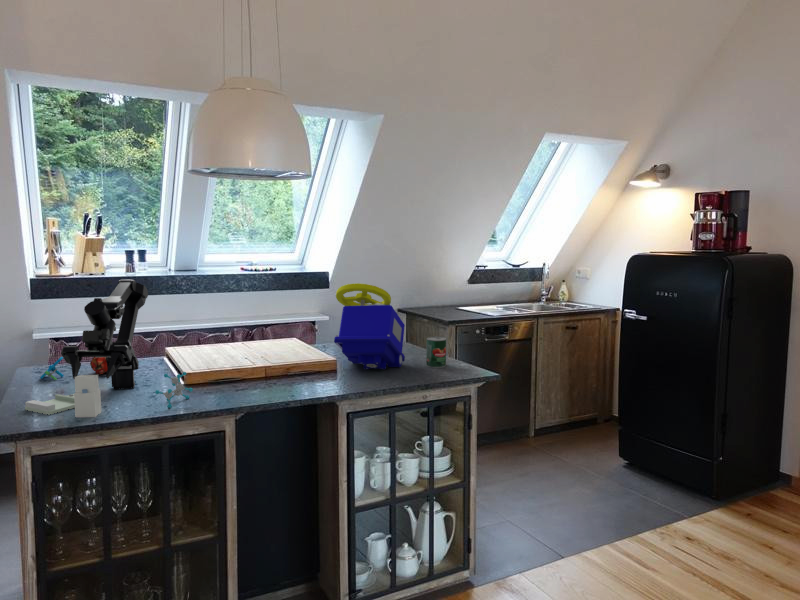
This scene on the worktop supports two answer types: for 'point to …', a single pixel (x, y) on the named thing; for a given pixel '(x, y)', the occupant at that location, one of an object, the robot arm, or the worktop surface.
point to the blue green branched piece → (52, 368)
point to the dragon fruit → (99, 365)
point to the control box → (370, 328)
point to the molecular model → (177, 391)
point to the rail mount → (51, 404)
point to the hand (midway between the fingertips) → (90, 378)
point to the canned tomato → (436, 352)
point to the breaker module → (87, 396)
